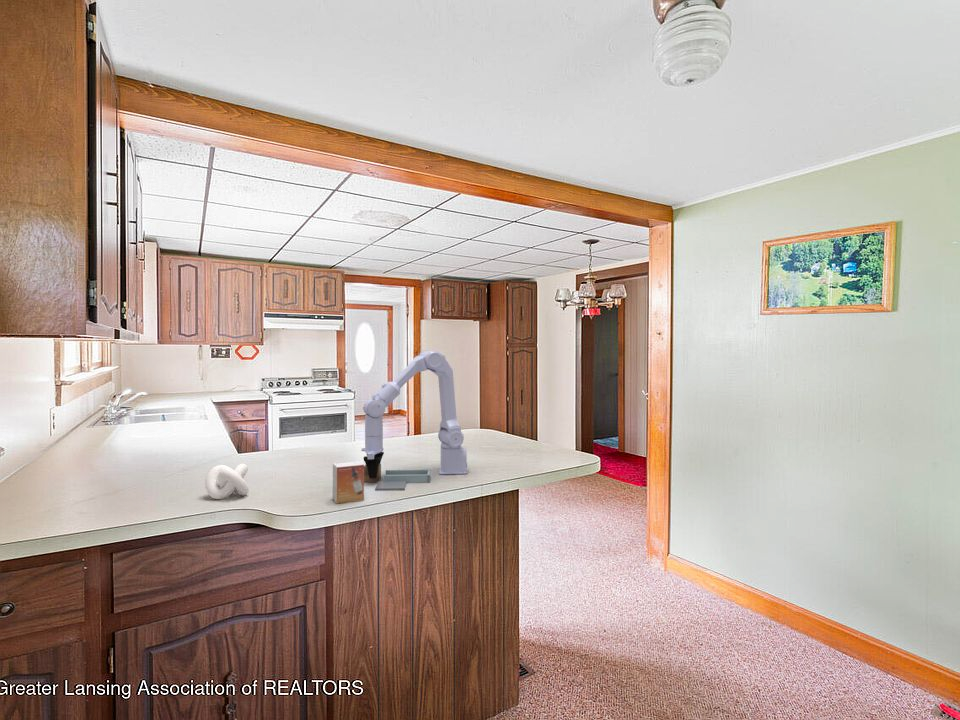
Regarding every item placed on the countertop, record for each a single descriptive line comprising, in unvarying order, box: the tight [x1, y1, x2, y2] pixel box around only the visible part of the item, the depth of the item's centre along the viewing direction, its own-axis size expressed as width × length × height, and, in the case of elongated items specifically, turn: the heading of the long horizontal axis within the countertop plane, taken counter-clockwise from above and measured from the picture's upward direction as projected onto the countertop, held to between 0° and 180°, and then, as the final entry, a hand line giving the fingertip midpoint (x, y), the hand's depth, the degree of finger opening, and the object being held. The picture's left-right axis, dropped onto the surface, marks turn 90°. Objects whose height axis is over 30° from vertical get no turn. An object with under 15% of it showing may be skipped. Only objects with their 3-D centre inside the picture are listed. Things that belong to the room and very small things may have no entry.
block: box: [364, 463, 382, 483], centre depth 163 cm, size 5×4×5 cm
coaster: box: [374, 480, 408, 492], centre depth 157 cm, size 9×9×1 cm
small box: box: [332, 460, 365, 504], centre depth 143 cm, size 8×6×10 cm
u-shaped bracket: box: [382, 469, 431, 484], centre depth 164 cm, size 15×7×2 cm, turn 94°
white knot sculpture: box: [204, 463, 250, 500], centre depth 146 cm, size 11×12×9 cm
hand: (373, 476), depth 163 cm, fingers closed on block, 4 cm apart
